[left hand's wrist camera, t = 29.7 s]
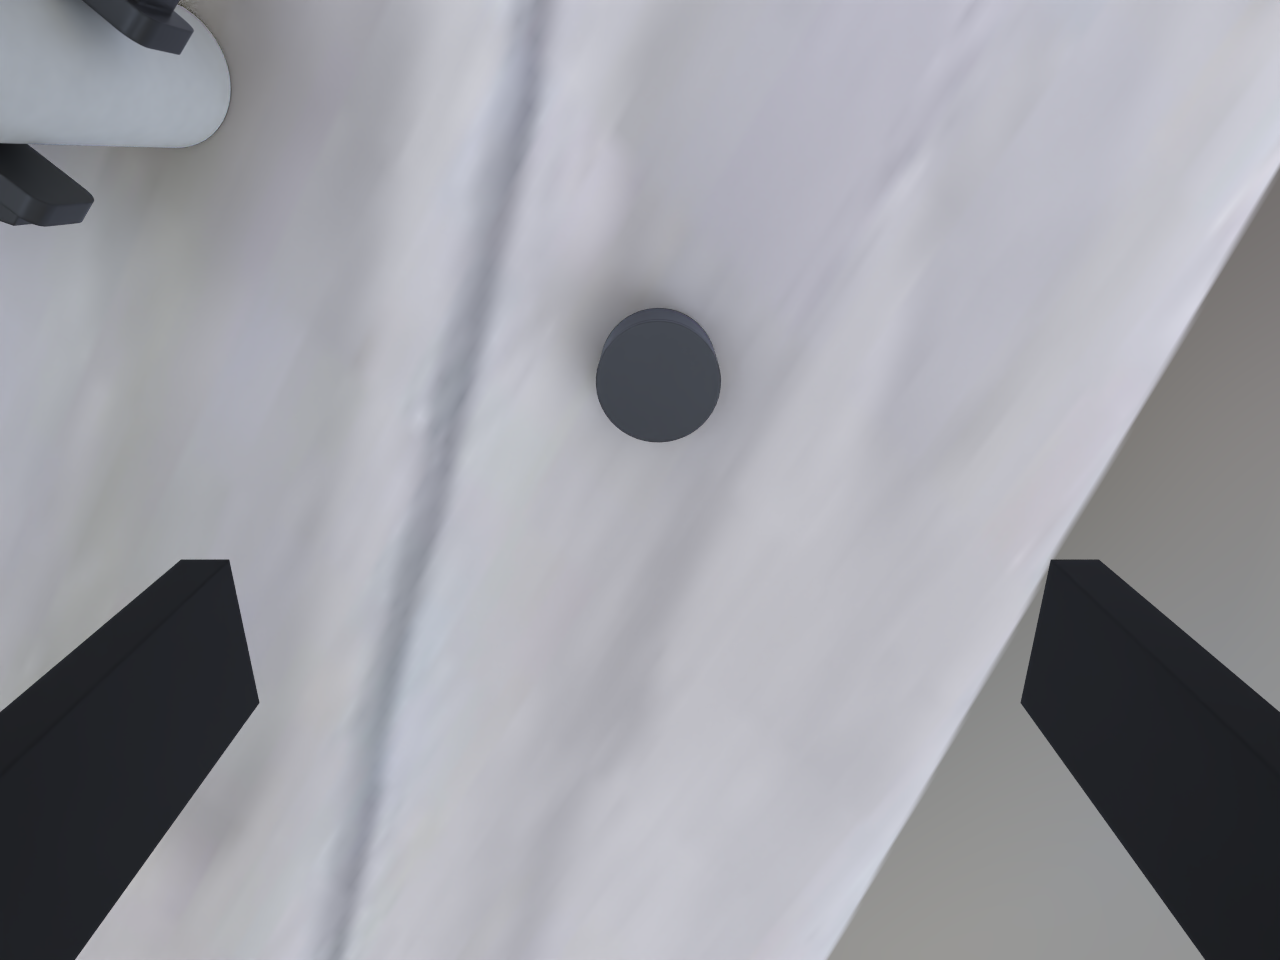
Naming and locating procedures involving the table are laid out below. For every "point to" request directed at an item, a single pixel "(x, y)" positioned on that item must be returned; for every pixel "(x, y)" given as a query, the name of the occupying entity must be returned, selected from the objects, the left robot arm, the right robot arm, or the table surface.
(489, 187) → the table surface
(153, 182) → the table surface
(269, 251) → the table surface
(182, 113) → the bottle
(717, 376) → the cap
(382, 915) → the table surface
